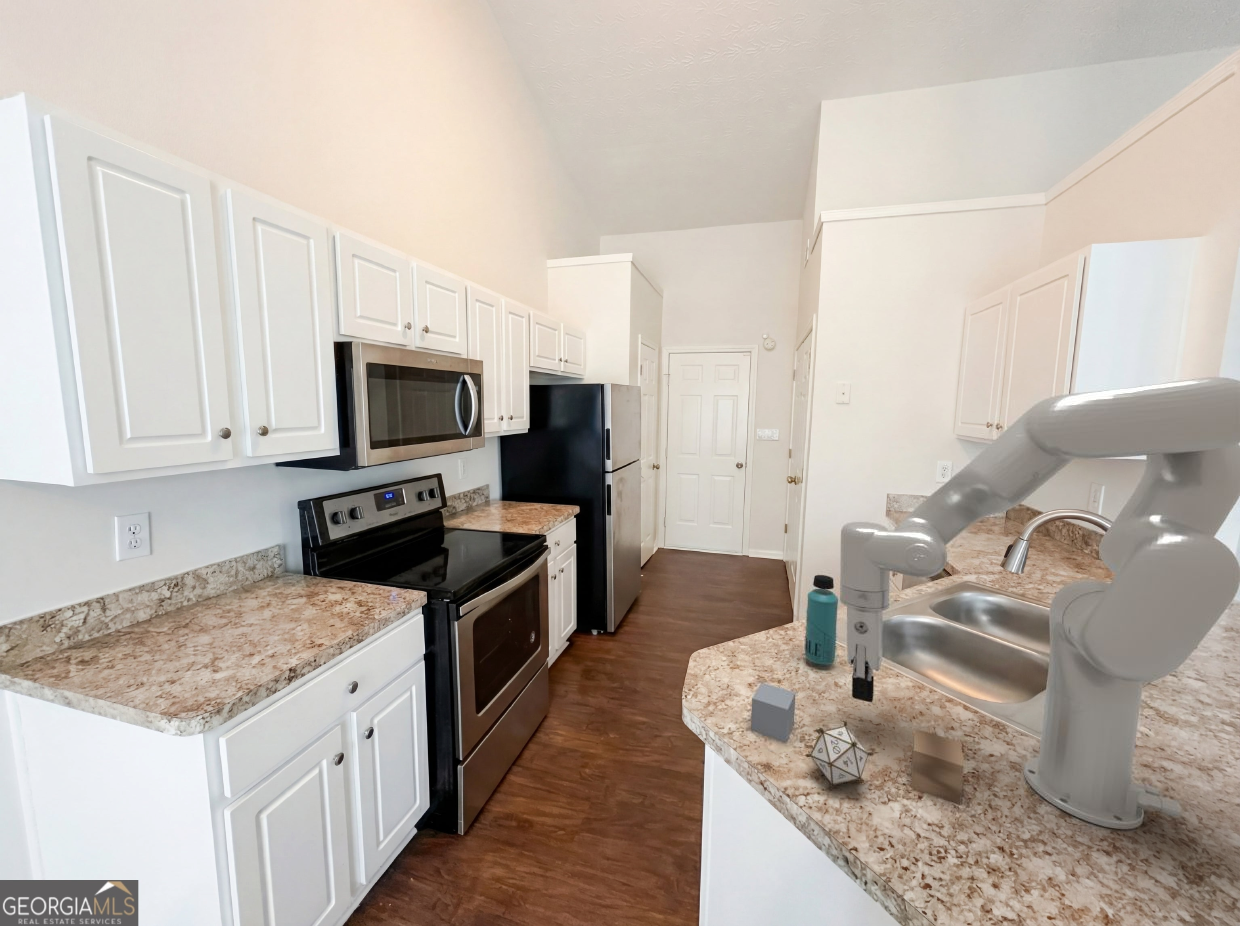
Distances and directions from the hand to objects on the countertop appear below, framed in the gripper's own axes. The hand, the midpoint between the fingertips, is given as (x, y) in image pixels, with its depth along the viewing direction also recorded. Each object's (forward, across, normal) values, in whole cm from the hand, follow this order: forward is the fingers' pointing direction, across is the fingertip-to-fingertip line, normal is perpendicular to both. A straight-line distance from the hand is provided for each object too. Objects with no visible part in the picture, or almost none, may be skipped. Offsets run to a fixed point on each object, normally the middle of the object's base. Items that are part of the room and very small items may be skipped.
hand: (862, 697), depth 84 cm
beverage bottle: (+6, +20, +10) cm, 24 cm away
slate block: (+5, -8, +14) cm, 16 cm away
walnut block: (+6, -8, -10) cm, 15 cm away
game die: (+6, -15, +2) cm, 16 cm away
